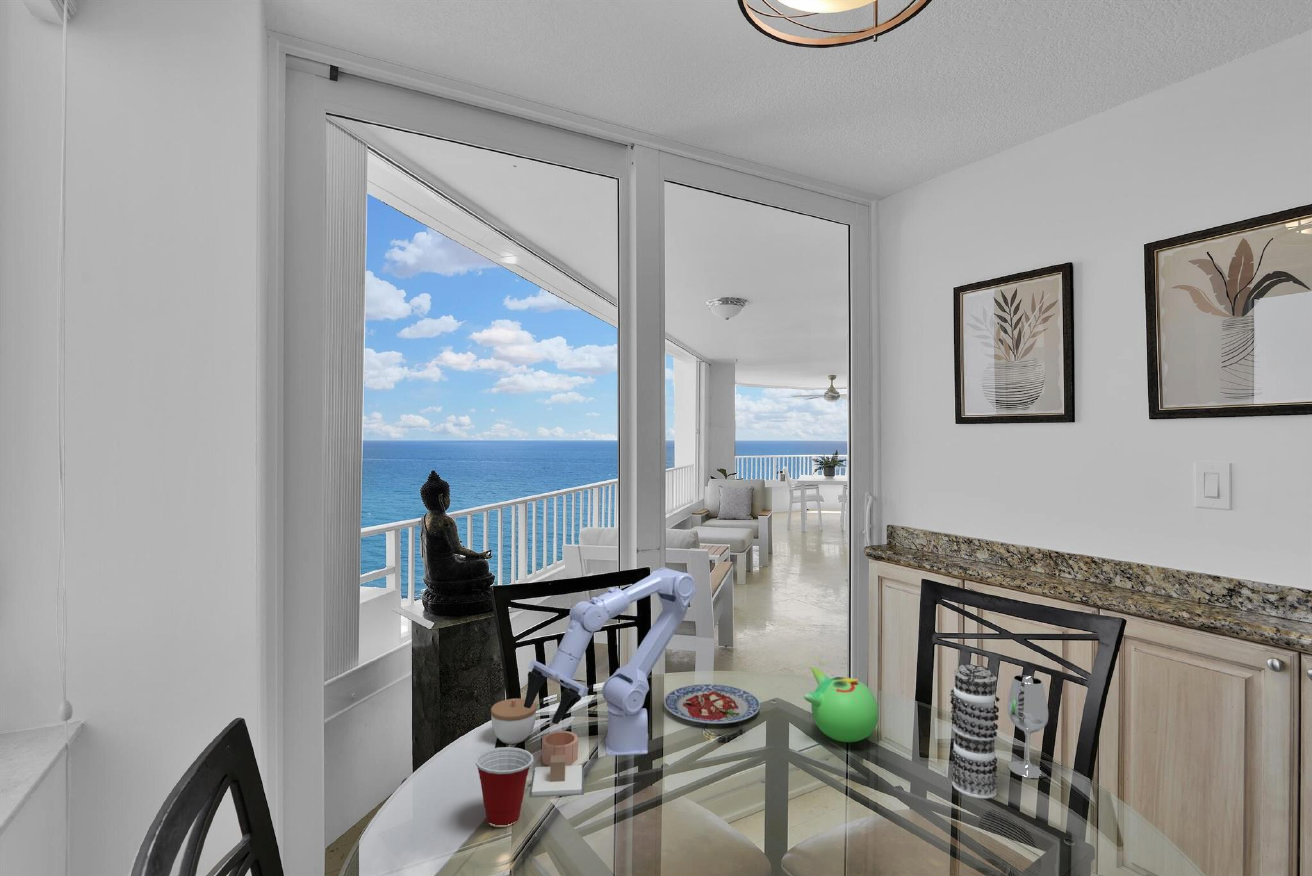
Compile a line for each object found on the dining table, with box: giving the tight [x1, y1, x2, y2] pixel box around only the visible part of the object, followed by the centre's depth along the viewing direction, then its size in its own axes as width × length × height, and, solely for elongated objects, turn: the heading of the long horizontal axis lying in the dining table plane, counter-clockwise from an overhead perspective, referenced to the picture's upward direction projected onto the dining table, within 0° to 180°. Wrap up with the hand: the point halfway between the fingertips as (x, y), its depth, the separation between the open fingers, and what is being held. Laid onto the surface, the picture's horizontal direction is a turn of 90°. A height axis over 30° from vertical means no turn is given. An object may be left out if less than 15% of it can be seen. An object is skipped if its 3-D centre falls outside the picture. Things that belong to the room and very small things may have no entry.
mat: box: [528, 766, 585, 798], centre depth 136 cm, size 11×11×1 cm
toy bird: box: [803, 667, 880, 743], centre depth 159 cm, size 18×17×15 cm
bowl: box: [541, 730, 579, 767], centre depth 147 cm, size 8×8×4 cm
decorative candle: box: [949, 663, 1001, 799], centre depth 136 cm, size 9×9×25 cm
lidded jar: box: [490, 697, 537, 745], centre depth 157 cm, size 11×11×9 cm
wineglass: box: [1007, 674, 1049, 779], centre depth 143 cm, size 8×8×20 cm
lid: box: [532, 755, 583, 796], centre depth 136 cm, size 10×10×5 cm
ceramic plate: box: [663, 683, 761, 725], centre depth 175 cm, size 26×26×3 cm
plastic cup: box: [475, 746, 534, 825], centre depth 123 cm, size 11×11×12 cm
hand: (540, 715), depth 140 cm, fingers open, 7 cm apart
